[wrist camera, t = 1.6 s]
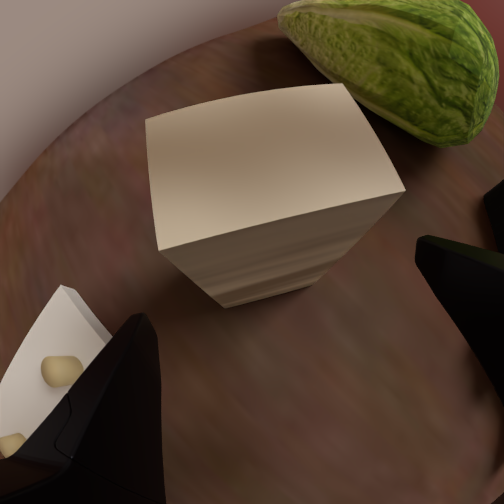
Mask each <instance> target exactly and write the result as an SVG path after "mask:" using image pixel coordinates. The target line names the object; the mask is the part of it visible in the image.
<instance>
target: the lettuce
mask: <svg viewBox="0 0 504 504" xmlns="http://www.w3.org/2000/svg"><path fill="white" fill-rule="evenodd" d="M277 18H278V25H279V28H280V29H281V31H282V32H283V33H284V34H285V35H286V36H287V37H288V38H289V39H290V40H291V41H292V42H293V43H294V44H295V45H296V46H297V47H298V48H299V49H300V50H301V51H302V53H303V54H304V55H305V56H306V57H307V58H308V59H309V60H310V62H311V63H312V64H313V65H314V66H315V68H316V69H317V70H319V71H320V72H321V73H322V74H323V75H324V76H326V77H327V78H328V79H329V80H330V81H331V82H332V83H333V84H339V83H342V84H343V85H344V86H345V88H346V89H347V91H348V92H349V93H350V95H351V96H352V97H353V98H354V99H355V100H357V101H358V102H360V103H361V104H362V105H364V106H365V107H367V108H368V109H369V110H371V111H373V112H374V113H376V114H378V115H379V116H381V117H382V118H384V119H386V120H387V121H389V122H391V123H393V124H394V125H396V126H398V127H399V128H401V129H403V130H404V131H406V132H408V133H409V134H411V135H413V136H415V137H416V138H418V139H419V140H421V141H423V142H426V143H429V144H431V145H434V146H437V147H439V148H445V147H451V146H457V145H463V144H468V143H469V142H470V141H471V140H472V139H473V138H474V137H476V136H477V135H478V134H479V133H480V132H481V131H482V129H483V127H484V125H485V123H486V121H487V119H488V117H489V115H490V113H491V110H492V107H493V104H494V100H495V97H496V92H497V88H498V80H499V67H498V58H497V53H496V50H495V46H494V42H493V39H492V37H491V35H490V33H489V32H488V30H487V29H486V27H485V26H484V24H483V23H482V22H481V20H480V19H479V18H478V17H477V15H476V14H475V12H474V11H473V10H472V8H471V7H470V6H469V5H468V4H466V3H463V2H462V1H459V0H301V1H297V2H294V3H292V4H290V5H287V6H284V7H282V9H281V11H280V12H279V13H278V15H277Z"/></svg>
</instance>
